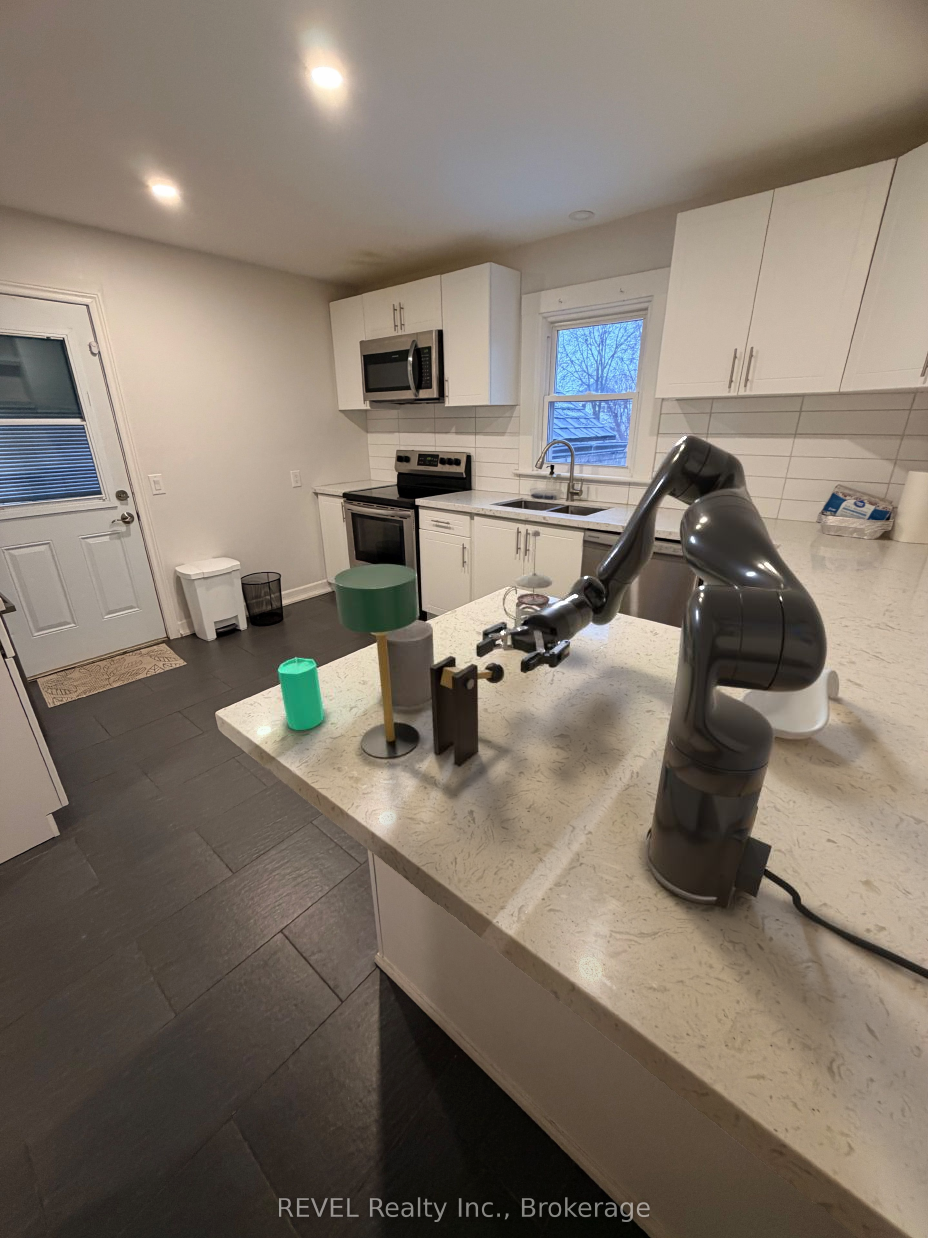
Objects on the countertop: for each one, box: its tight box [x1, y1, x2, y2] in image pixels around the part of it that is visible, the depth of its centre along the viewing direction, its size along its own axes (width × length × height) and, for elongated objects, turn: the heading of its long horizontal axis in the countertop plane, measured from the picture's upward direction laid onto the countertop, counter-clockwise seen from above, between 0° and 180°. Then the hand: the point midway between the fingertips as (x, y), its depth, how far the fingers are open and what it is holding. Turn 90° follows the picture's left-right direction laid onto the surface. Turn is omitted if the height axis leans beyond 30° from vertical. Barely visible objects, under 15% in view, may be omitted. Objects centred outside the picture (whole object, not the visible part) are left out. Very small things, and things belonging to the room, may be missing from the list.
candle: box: [277, 656, 325, 731], centre depth 82 cm, size 6×6×12 cm
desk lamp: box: [333, 563, 421, 760], centre depth 71 cm, size 15×11×28 cm
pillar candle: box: [386, 619, 435, 707], centre depth 87 cm, size 10×10×15 cm
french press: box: [502, 529, 553, 640], centre depth 109 cm, size 10×12×25 cm
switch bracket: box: [430, 655, 479, 768], centre depth 71 cm, size 12×9×16 cm
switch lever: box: [440, 662, 505, 689], centre depth 73 cm, size 13×3×3 cm, turn 141°
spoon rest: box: [740, 667, 840, 740], centre depth 82 cm, size 24×12×7 cm, turn 128°
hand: (499, 659), depth 77 cm, fingers open, 8 cm apart
